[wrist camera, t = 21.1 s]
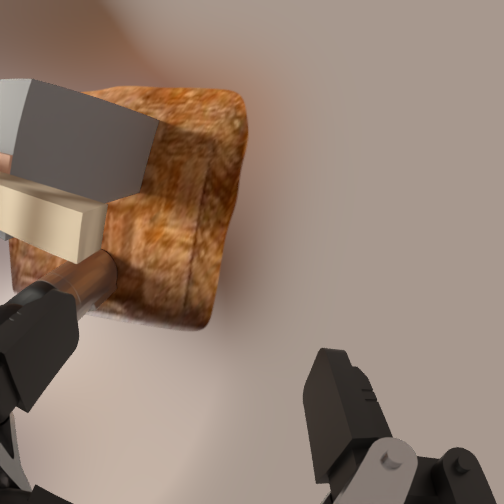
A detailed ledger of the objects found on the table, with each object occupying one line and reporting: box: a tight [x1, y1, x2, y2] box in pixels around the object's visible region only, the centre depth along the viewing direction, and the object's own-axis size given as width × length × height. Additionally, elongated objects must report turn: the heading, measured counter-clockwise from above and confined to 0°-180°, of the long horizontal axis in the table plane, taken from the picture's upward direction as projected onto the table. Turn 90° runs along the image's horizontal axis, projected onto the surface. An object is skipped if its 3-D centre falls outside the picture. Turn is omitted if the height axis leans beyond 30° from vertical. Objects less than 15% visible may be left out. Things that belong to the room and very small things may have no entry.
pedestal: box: [0, 79, 159, 241], centre depth 31 cm, size 10×13×32 cm
